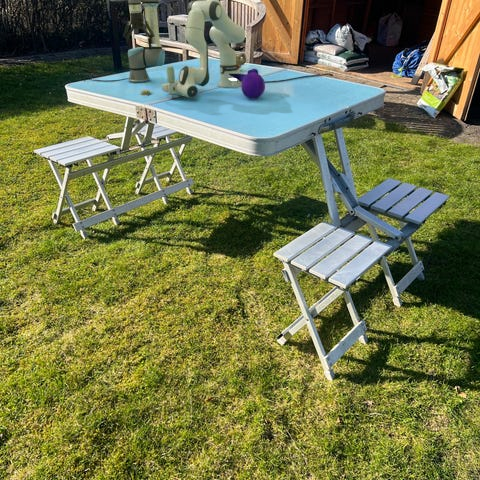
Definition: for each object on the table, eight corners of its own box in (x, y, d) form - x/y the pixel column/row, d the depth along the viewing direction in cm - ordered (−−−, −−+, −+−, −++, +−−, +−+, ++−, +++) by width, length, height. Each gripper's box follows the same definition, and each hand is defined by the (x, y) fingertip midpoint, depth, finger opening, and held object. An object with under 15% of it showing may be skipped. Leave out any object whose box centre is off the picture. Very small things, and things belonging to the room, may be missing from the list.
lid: (147, 92, 305) (147, 89, 304) (151, 94, 301) (151, 91, 300) (140, 93, 302) (139, 90, 301) (143, 95, 298) (143, 92, 297)
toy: (250, 90, 302) (265, 104, 282) (225, 86, 295) (239, 99, 274) (256, 66, 294) (272, 78, 274) (231, 61, 287) (246, 73, 266)
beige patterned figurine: (226, 73, 360) (225, 53, 353) (219, 71, 369) (219, 51, 361) (249, 70, 370) (249, 50, 362) (242, 68, 378) (241, 49, 371)
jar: (175, 94, 298) (172, 67, 289) (168, 94, 299) (165, 67, 290) (176, 92, 302) (174, 65, 294) (169, 92, 303) (167, 66, 294)
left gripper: (114, 12, 275) (119, 50, 286) (153, 12, 271) (156, 50, 282) (119, 12, 282) (124, 48, 293) (157, 11, 278) (160, 48, 288)
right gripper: (195, 80, 289) (186, 77, 299) (166, 84, 279) (157, 80, 290) (196, 90, 292) (187, 86, 302) (167, 94, 283) (158, 90, 293)
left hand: (140, 49), depth 287 cm, fingers open, 13 cm apart
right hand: (172, 83), depth 296 cm, fingers open, 8 cm apart
